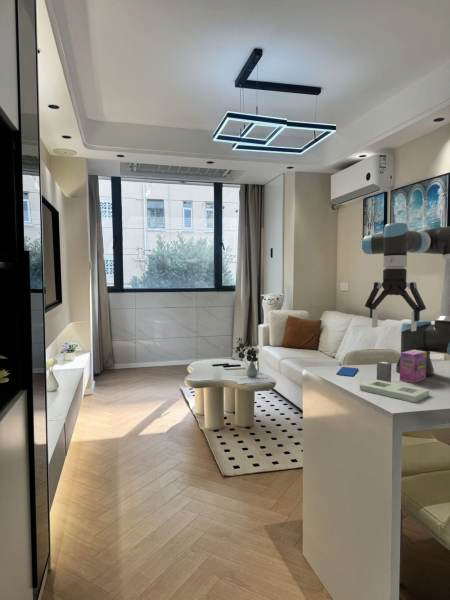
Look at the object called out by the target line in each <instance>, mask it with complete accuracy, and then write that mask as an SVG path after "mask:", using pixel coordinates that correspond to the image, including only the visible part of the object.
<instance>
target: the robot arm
mask: <svg viewBox="0 0 450 600" xmlns="http://www.w3.org/2000/svg"><path fill="white" fill-rule="evenodd" d="M408 227H409V225H408V224H407V223H406V222H391V223H387V224H385V225H384V227H383V228H384V229H383V233H380V234H379V233H378V234H377V233H376V234H369V235H365V236H364V237H363V238H362V241H361V249H362V251H363V253H364V254H366V255H379V254H380V255H381V254H382V255H383V261H382V262H383V263H382V266H383V268H384V269H383V270H382V282H380V281H375V282H374V283H373V288H372V290H371V293H370V294H369V296H368V298H367V300H366V302H365V304H364V307H365V308H368V309H369V317H370V319H371V324H372V325H371V327H372V328H373V329H375V328H378V327H379V326H378V324H379V323H378V319H379V318H378V317H379V316H378V315H379V309H377V307H378V306H379V305H380V304H381V303H382V302H383V300H384V299H386V297H387V296H401V297H402V298H403V299H404V301H405V302H406V303H407V304H408V306H409V307H410V308H411V309H412V311H411V314H410V317H411V318H410V321H404V322H403V323H401V328H400V329H401V330H400V353H401V352H406V351H410V350H419V351H425V352H427V357H426V377H432V376H434V375H435V369H434V366H433V363H432V359H431V353H438V354H444V355H449V356H450V226H439V227H434V228H428V229H425V230H413V231H412V230H409V228H408ZM408 253H412V254H413V253H414V254H415V253H416V254H431V255H441V256H442V258H443V259H444V260H445V264H444V276H443V284H442V291H441V299H440V308H439V309H440V310H439V316H438V317H437V318H436V319H434V324H432V321H431V320H420V317H421V316H420V315H421V314H420V313H421V311H425V310H426V309H427V306H426V304H425V303H424V300H423V299H422V296H421V295H420V293H419V290H418V288H417V282H415V281H413V282H412V281H411V282H407V276H408V275H407V273H408V271H407V269H406V268H407V267H408V266H407V265H408ZM407 287H408V289H409V290H410V292H411V294H412V296H413V298H414V300H413V299H412V298H411V296H410V294H409V293H408V292H407V290H406V289H407ZM381 288H382V289H383V290H382V291H381V292H380V294H379V296H378V297H377V295H378V293H379V291H380V289H381ZM376 297H377V298H376ZM400 357H401V354H400V355H399V357H398V361H397V363H396V365H395V372H396V373H399V374H400Z"/></svg>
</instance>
